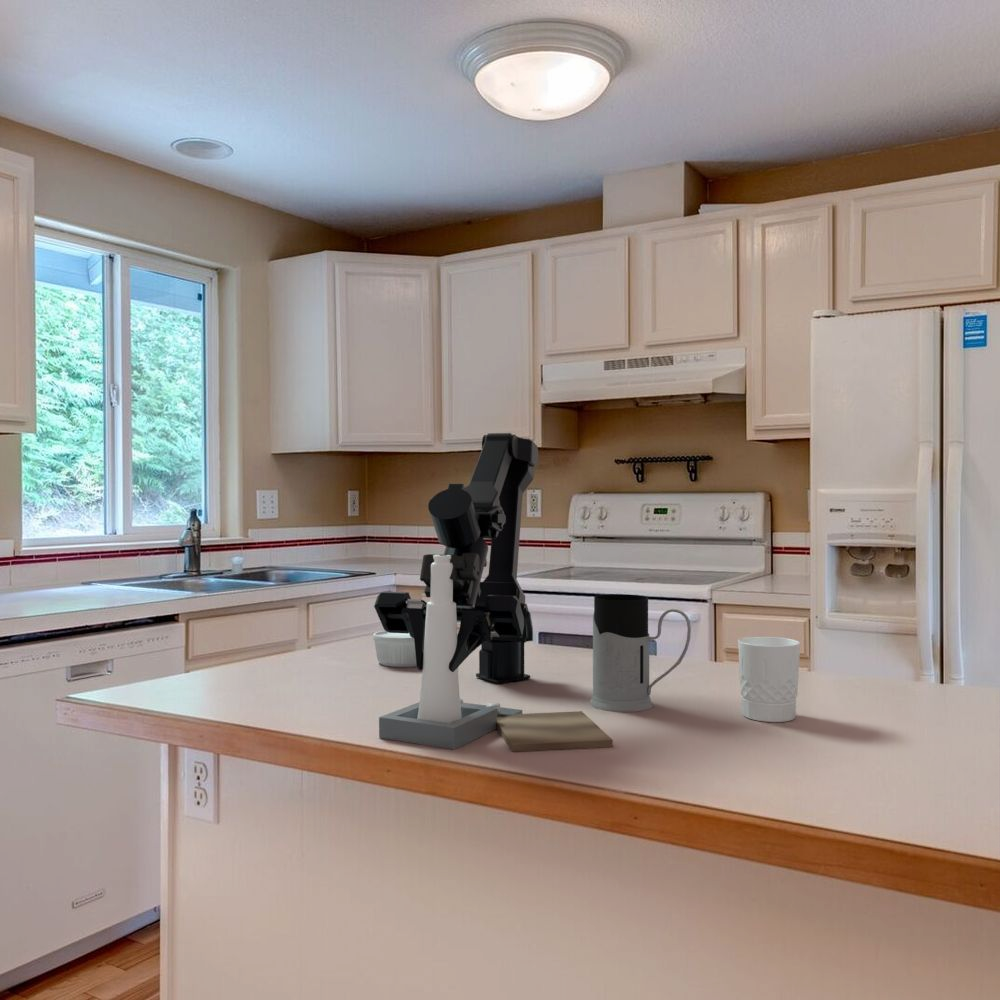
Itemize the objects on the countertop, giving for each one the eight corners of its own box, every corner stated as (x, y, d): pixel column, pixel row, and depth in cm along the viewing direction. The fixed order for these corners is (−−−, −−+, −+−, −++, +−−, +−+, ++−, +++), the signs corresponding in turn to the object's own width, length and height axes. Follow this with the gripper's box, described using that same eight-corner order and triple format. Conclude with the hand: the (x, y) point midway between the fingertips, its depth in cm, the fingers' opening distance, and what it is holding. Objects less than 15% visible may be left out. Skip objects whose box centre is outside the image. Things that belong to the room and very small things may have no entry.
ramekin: (382, 656, 166) (382, 627, 166) (443, 657, 165) (443, 628, 165) (365, 668, 155) (365, 637, 155) (430, 670, 154) (430, 638, 154)
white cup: (767, 726, 117) (767, 648, 117) (725, 713, 124) (725, 639, 124) (813, 719, 120) (813, 643, 120) (769, 706, 127) (769, 634, 127)
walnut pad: (492, 721, 120) (492, 715, 120) (581, 717, 122) (581, 711, 122) (511, 751, 106) (511, 744, 106) (612, 746, 108) (612, 739, 108)
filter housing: (454, 707, 127) (453, 689, 127) (522, 716, 122) (522, 697, 122) (379, 737, 112) (379, 717, 112) (453, 749, 107) (453, 727, 107)
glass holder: (602, 694, 135) (602, 592, 135) (698, 704, 129) (698, 597, 128) (580, 707, 127) (580, 599, 127) (681, 718, 121) (682, 604, 121)
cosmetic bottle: (421, 740, 110) (424, 557, 110) (409, 727, 116) (412, 553, 115) (469, 737, 112) (472, 556, 112) (456, 724, 118) (458, 552, 117)
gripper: (379, 529, 120) (344, 626, 109) (519, 531, 115) (496, 633, 105) (401, 584, 128) (370, 679, 117) (532, 587, 123) (513, 687, 112)
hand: (434, 669), depth 113 cm, fingers closed on cosmetic bottle, 4 cm apart
